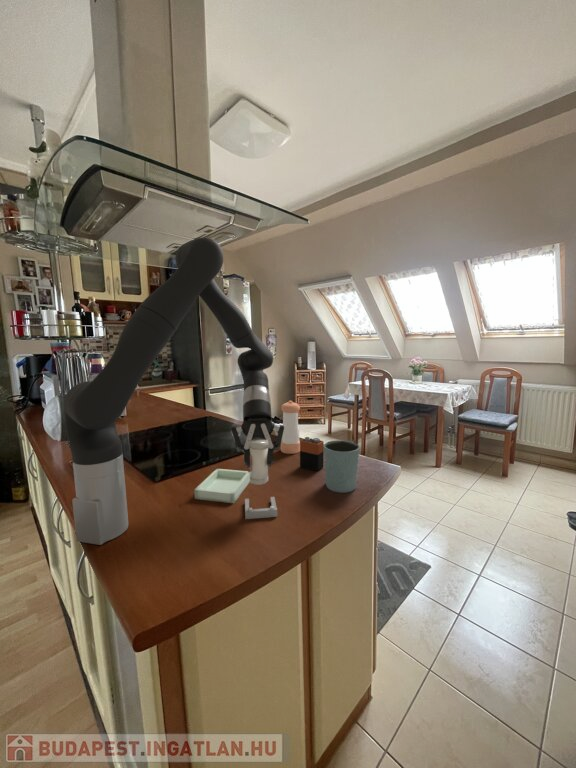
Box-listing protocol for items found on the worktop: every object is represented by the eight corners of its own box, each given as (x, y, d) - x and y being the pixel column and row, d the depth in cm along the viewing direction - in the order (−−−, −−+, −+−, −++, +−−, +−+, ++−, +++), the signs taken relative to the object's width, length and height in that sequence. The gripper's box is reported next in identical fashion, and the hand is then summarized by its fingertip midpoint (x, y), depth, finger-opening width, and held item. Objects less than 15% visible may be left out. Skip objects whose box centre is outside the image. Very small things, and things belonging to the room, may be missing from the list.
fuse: (269, 484, 76) (269, 444, 75) (249, 485, 76) (249, 444, 74) (267, 476, 81) (267, 438, 80) (249, 477, 80) (249, 438, 79)
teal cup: (324, 493, 87) (324, 451, 86) (322, 477, 97) (322, 439, 96) (361, 494, 87) (362, 452, 85) (355, 478, 97) (356, 440, 95)
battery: (317, 472, 101) (318, 441, 100) (299, 467, 105) (299, 438, 103) (323, 467, 105) (324, 438, 103) (306, 463, 108) (306, 434, 107)
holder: (277, 516, 76) (277, 507, 76) (245, 519, 75) (245, 510, 75) (274, 501, 83) (274, 492, 83) (245, 503, 82) (244, 494, 82)
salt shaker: (277, 451, 120) (276, 401, 117) (288, 445, 125) (288, 398, 123) (292, 455, 115) (292, 403, 112) (303, 449, 121) (304, 400, 118)
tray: (233, 503, 82) (233, 493, 82) (194, 498, 84) (194, 489, 84) (251, 479, 96) (251, 471, 95) (217, 476, 98) (216, 468, 98)
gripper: (229, 398, 82) (228, 460, 72) (284, 397, 84) (290, 458, 74) (230, 413, 88) (229, 473, 78) (281, 412, 90) (287, 470, 80)
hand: (259, 465), depth 76 cm, fingers closed on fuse, 4 cm apart
